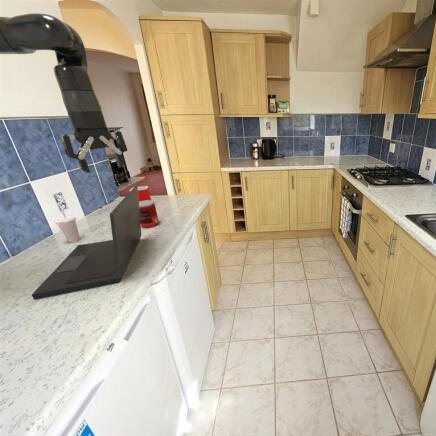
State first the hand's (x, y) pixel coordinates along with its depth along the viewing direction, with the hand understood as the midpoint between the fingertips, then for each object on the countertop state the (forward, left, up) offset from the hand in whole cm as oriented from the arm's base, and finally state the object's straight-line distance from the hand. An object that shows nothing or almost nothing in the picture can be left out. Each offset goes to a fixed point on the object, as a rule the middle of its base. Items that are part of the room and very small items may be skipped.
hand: (104, 169), depth 72 cm
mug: (-9, +62, -33) cm, 70 cm away
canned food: (-1, +34, -33) cm, 47 cm away
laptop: (-13, +4, -33) cm, 35 cm away
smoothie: (-29, +29, -33) cm, 52 cm away
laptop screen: (0, +4, -21) cm, 21 cm away
